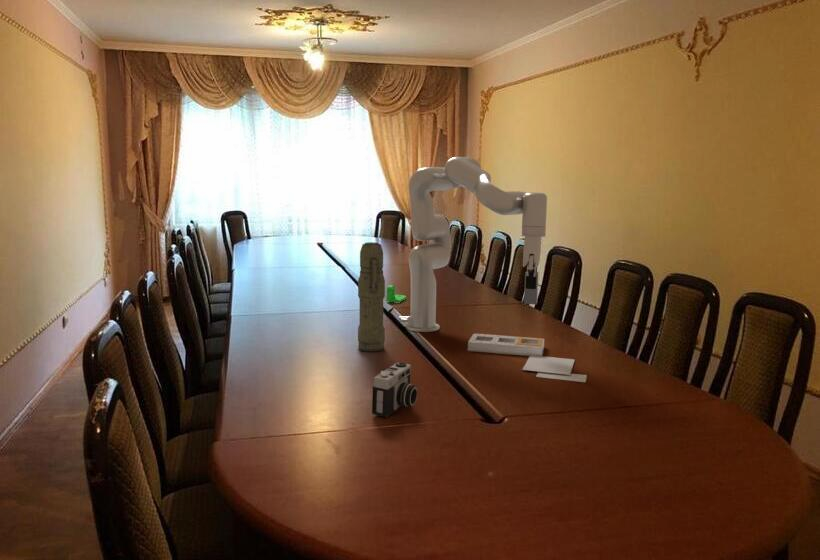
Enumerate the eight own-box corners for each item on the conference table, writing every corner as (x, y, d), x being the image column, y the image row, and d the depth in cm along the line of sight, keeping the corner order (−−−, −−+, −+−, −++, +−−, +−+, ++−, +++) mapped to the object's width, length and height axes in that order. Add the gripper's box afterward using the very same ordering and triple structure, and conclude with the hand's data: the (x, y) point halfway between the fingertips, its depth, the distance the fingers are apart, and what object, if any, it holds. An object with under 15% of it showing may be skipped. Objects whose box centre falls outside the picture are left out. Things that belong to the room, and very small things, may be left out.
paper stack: (606, 364, 199) (606, 362, 199) (602, 389, 176) (602, 387, 176) (530, 357, 207) (530, 354, 207) (517, 380, 183) (517, 377, 183)
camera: (397, 421, 151) (397, 380, 150) (366, 413, 156) (366, 373, 155) (427, 403, 163) (427, 365, 161) (397, 396, 168) (397, 359, 166)
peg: (523, 303, 208) (525, 273, 207) (524, 301, 212) (526, 271, 211) (536, 304, 208) (537, 273, 206) (537, 302, 211) (538, 272, 210)
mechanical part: (399, 304, 285) (399, 286, 284) (386, 303, 287) (386, 286, 285) (407, 299, 296) (407, 282, 295) (395, 298, 298) (395, 281, 297)
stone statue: (378, 342, 221) (379, 240, 215) (389, 351, 210) (390, 244, 204) (353, 344, 218) (353, 241, 212) (363, 353, 207) (363, 245, 201)
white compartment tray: (467, 350, 212) (468, 341, 211) (473, 341, 223) (473, 332, 223) (541, 356, 206) (542, 347, 205) (543, 347, 217) (544, 338, 217)
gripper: (524, 229, 215) (521, 282, 218) (519, 233, 199) (517, 291, 202) (546, 229, 213) (544, 284, 216) (544, 234, 197) (541, 292, 200)
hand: (531, 287), depth 209 cm, fingers closed on peg, 4 cm apart
